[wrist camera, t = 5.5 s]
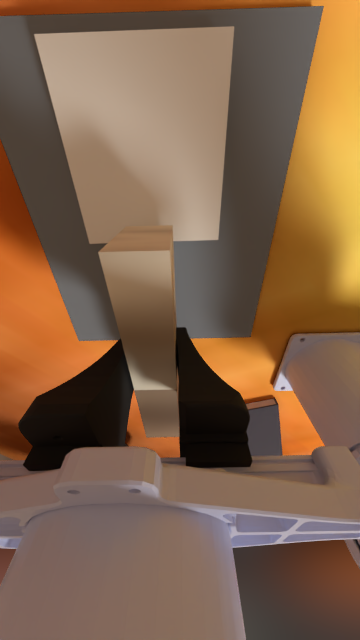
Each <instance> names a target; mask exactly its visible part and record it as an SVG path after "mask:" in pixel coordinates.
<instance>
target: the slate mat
mask: <svg viewBox="0 0 360 640" xmlns="http://www.w3.org/2000/svg"><path fill="white" fill-rule="evenodd" d="M323 7H324V6H312V7H279V8H247V9H215V10H182V11H150V12H118V13H86V14H53V15H21V16H0V139H1V141H2V144H3V147H4V149H5V152H6V154H7V157H8V159H9V162H10V165H11V167H12V170H13V172H14V175H15V177H16V180H17V183H18V185H19V188H20V190H21V193H22V195H23V198H24V201H25V203H26V206H27V208H28V211H29V213H30V216H31V219H32V221H33V224H34V226H35V229H36V231H37V234H38V237H39V239H40V242H41V244H42V247H43V249H44V252H45V255H46V257H47V260H48V262H49V265H50V267H51V270H52V273H53V275H54V278H55V280H56V283H57V285H58V288H59V291H60V293H61V296H62V298H63V301H64V303H65V306H66V309H67V311H68V314H69V316H70V319H71V321H72V324H73V327H74V329H75V332H76V334H77V337H78V340H79V341H94V340H119V339H120V338H121V337H120V334H119V330H118V326H117V322H116V318H115V314H114V311H113V307H112V303H111V299H110V295H109V292H108V288H107V284H106V280H105V276H104V272H103V269H102V265H101V261H100V257H99V253H98V252H99V251H100V250H101V249H102V248H103V247H104V246H105V245H106V244H108V243H99V244H90V243H89V240H88V236H87V232H86V228H85V224H84V221H83V217H82V213H81V209H80V206H79V202H78V198H77V194H76V191H75V187H74V183H73V179H72V175H71V172H70V168H69V164H68V160H67V157H66V153H65V149H64V145H63V142H62V138H61V134H60V130H59V126H58V123H57V119H56V115H55V111H54V108H53V104H52V100H51V96H50V93H49V89H48V85H47V81H46V77H45V74H44V70H43V66H42V62H41V59H40V55H39V51H38V47H37V44H36V40H35V36H34V34H49V33H75V32H101V31H126V30H152V29H178V28H204V27H230V26H234V37H233V50H232V64H231V77H230V90H229V104H228V117H227V130H226V143H225V157H224V170H223V183H222V197H221V210H220V223H219V236H218V240H200V241H173V245H174V270H175V296H176V321H177V327H185V328H186V329H187V332H188V335H189V337H190V338H232V337H251V332H252V328H253V323H254V319H255V314H256V310H257V305H258V301H259V296H260V292H261V287H262V283H263V278H264V274H265V269H266V265H267V260H268V256H269V251H270V247H271V242H272V237H273V233H274V228H275V224H276V219H277V215H278V210H279V206H280V201H281V197H282V192H283V188H284V183H285V179H286V174H287V170H288V165H289V161H290V156H291V152H292V147H293V142H294V138H295V133H296V129H297V124H298V120H299V115H300V111H301V106H302V102H303V97H304V93H305V88H306V84H307V79H308V75H309V70H310V66H311V61H312V57H313V52H314V48H315V43H316V38H317V34H318V29H319V25H320V20H321V16H322V11H323Z"/></svg>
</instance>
